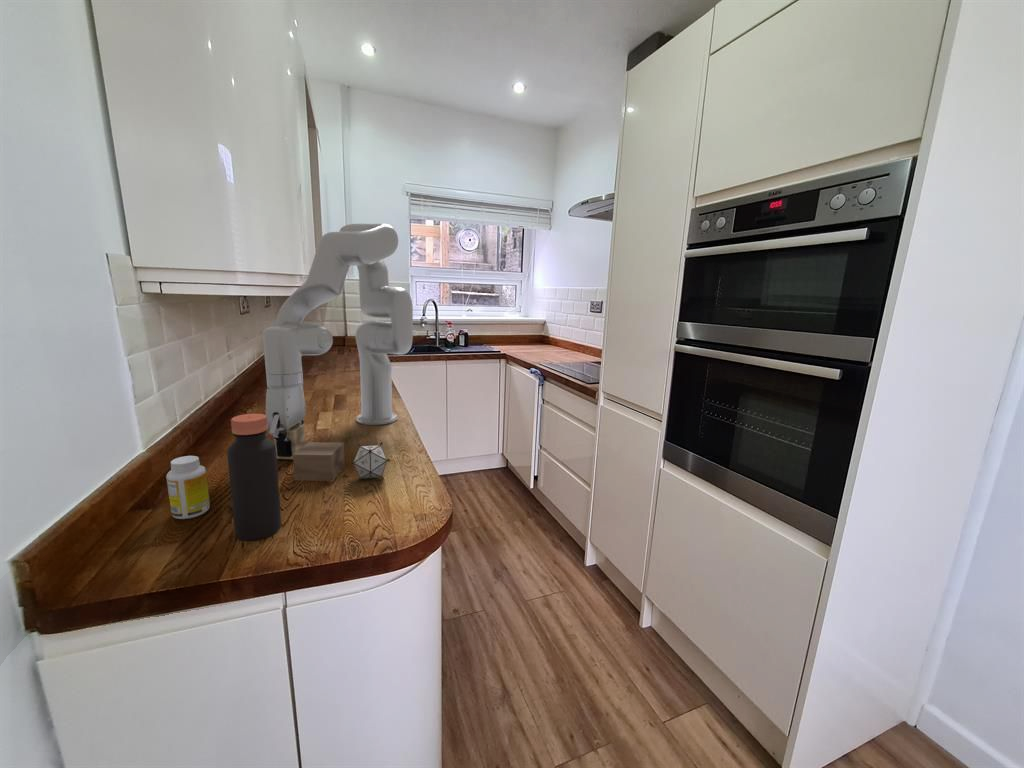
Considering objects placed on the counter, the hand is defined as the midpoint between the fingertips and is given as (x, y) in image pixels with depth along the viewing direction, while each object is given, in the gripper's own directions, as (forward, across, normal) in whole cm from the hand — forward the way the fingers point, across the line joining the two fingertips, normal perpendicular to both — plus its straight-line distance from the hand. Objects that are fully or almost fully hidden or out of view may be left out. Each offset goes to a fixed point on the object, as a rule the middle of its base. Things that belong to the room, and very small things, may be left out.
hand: (290, 451), depth 102 cm
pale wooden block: (+1, 0, 0) cm, 1 cm away
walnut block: (+2, +8, +11) cm, 14 cm away
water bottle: (+1, +32, +11) cm, 34 cm away
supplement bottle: (+1, +28, -4) cm, 28 cm away
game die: (+2, +10, +23) cm, 25 cm away
